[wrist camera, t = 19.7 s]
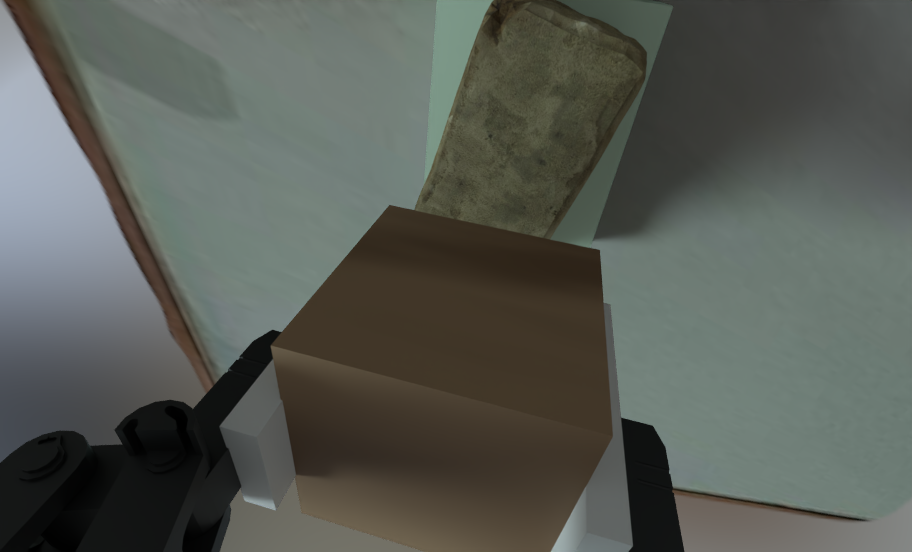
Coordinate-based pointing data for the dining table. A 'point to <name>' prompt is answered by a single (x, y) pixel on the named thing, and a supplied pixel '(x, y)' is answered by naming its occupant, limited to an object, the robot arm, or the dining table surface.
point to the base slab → (645, 20)
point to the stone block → (531, 116)
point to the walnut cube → (449, 386)
